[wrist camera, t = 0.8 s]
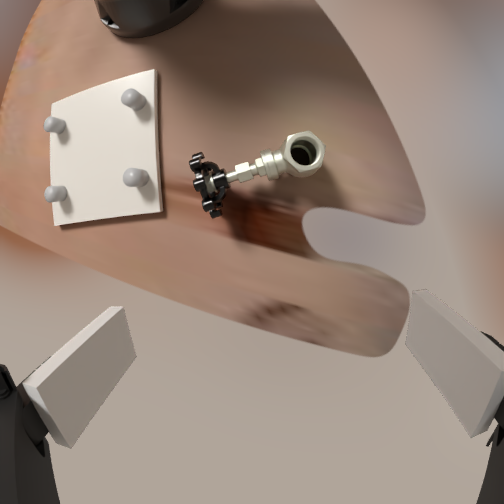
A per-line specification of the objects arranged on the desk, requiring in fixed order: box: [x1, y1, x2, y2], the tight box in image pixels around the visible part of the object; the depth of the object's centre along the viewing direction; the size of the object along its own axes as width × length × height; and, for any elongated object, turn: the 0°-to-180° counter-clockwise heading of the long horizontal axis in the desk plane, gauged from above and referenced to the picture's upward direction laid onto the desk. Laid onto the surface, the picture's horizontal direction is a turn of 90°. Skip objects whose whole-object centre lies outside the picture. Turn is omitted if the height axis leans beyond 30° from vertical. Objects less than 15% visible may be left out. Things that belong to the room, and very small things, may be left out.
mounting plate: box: [44, 69, 163, 226], centre depth 29 cm, size 17×16×4 cm
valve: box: [189, 131, 326, 218], centre depth 27 cm, size 7×7×12 cm
